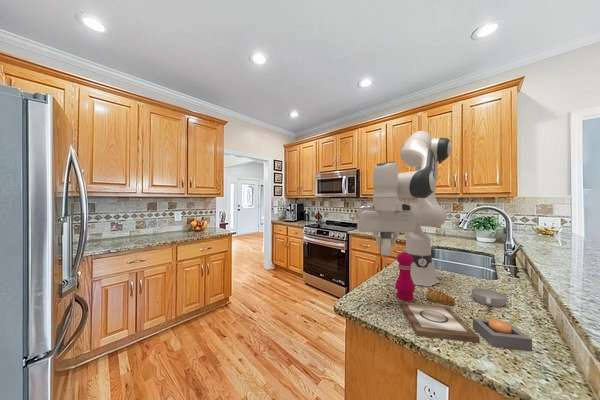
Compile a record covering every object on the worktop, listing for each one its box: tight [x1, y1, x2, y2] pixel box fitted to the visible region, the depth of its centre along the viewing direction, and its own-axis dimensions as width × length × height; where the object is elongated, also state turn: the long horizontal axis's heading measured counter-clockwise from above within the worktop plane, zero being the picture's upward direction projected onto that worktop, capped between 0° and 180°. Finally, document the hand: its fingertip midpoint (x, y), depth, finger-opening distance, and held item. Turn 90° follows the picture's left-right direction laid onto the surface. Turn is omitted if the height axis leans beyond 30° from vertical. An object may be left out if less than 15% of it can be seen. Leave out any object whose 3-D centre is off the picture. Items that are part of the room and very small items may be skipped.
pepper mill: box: [395, 248, 416, 302], centre depth 89 cm, size 7×7×20 cm
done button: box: [488, 318, 512, 334], centre depth 62 cm, size 5×5×2 cm
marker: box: [379, 232, 393, 257], centre depth 78 cm, size 4×4×8 cm
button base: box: [472, 317, 533, 352], centre depth 62 cm, size 9×9×3 cm
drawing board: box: [399, 301, 481, 344], centre depth 71 cm, size 19×16×2 cm
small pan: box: [470, 287, 508, 308], centre depth 83 cm, size 11×18×4 cm, turn 139°
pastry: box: [425, 288, 456, 306], centre depth 86 cm, size 9×7×4 cm
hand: (385, 244), depth 78 cm, fingers closed on marker, 4 cm apart
